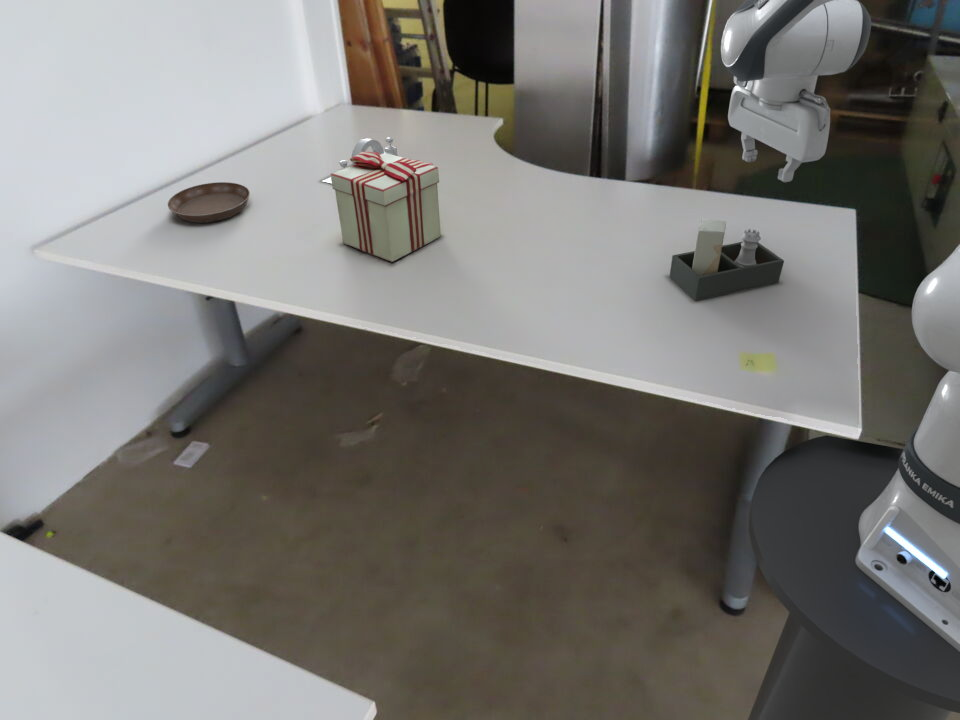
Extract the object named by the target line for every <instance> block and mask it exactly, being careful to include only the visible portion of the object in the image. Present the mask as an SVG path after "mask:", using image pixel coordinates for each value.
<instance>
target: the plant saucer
mask: <svg viewBox="0 0 960 720" xmlns="http://www.w3.org/2000/svg"><path fill="white" fill-rule="evenodd" d="M250 195H251V192H250V190H249V189H248V187H247V186H245V185H242V184H239V183H236V182H229V181H228V182H225V181H222V182H221V181H219V182H207V183H202V184H198V185H193V186H191V187H188V188H185V189H183V190H180V191H178V192H177V193H175V194H174V195H172V196H171V197H170V198H169V200H168V201H167V207H168V209H169V210H170V212H172V213H173V214H174V215H176V216H177V217H179V218H180V219H182V220H184V221H187V222H191V223H197V224H198V223H201V224H202V223H213V222H218V221H223V220H226V219H230V218H231V217H233V216H235V215H237V214H239V213H240V212H241V211H243V209H244V207H245V206H246V205H247V203H248V201H249V199H250Z"/></svg>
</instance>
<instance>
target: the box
mask: <svg viewBox="0 0 960 720" xmlns="http://www.w3.org/2000/svg"><path fill="white" fill-rule="evenodd" d="M726 228H727V221H726V220H721V219H710V218H700V220H699V225H698V230H697V235H696V236H697V237H696V241H695V242H696V243H695V247H694V251H695V254H694V260H693V266H692V270H694V271H695V272H696V273H697V274H698V275H699V276H703V275H708V274H712V273H717V271H718V266H719V261H720V255H721V250H722V246H723V245H724V239H725V234H726V230H727V229H726Z"/></svg>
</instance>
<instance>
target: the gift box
mask: <svg viewBox="0 0 960 720" xmlns="http://www.w3.org/2000/svg"><path fill="white" fill-rule="evenodd" d="M351 157H352V156H351ZM349 160H350V161H349V162H352V161H353V162H354V164H355V165H352V164H351V165H350V166H347V167H345V169H344V168H342V169H340V170H337V171H335V172H332V173H331V174H330V177H331V181H332V184H331V186H332V190H334V193H335V200H336V205H337V212H338V218H339V225H340V231H341V237H342V243H343V244H345V245H347V246H349V247H352V248H355V249H357V250H359V251H361V252H363V253H368V254H369V255H373V256H375V257H378V258H380V259H383V260H386V261H388V262H391V263H393V262H395V261H397V260H400V259H401V258H403V257H405V256H407V255H408V254H410V253H413V252H414V251H416V250H418V249H420V248H422V247H424V246H425V245H428V244H430V243H432V242H433V241H435V240H437V239H439V238H440V237H441V236H442V234H441V232H442V231H441V219H440V206H439V205H440V204H439V190H438V184H439V182H440V174H439V167H438V166H436V165H434V163H433V162H424V161H422V160H417V159H415V160H414V159H410V158H407V157H402V156H398V155H397V156H395V155H391V154H388V153H383V154H381V155H379V153H378V151H377V152H375V153H373V151H365V152H361V153H359V154H358V155H356V156H354V157H352V158H349Z"/></svg>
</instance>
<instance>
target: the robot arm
mask: <svg viewBox="0 0 960 720" xmlns="http://www.w3.org/2000/svg"><path fill="white" fill-rule="evenodd" d="M871 30H872V17H871V15H870V13H869V12H868V10H867V8H866V7H865V5H864V4H863V3H862V2H861V1H860V0H745V1H744V2H743V3H741V5H740V6H738V7H737V8H736V10H735V11H734V12H733V13H732V14H731V15H730V16H729V18H728V19H727V21H726V24H725V26H724V29H723V32H722V37H721V43H720V55H721V60H722V61H721V62H722V64H723V65H724V66H725V68H726V69H727V70H728V71H729V72H730V73H731V75H733V83H734V87H733V88H732V91H731V93H730V94H731V95H730V99H729V105H728V106H729V107H728V113H727V120H728V124H729V126H730V127H731V128H733V129H735V130H737V131H739V132H741V135H740V140H741V145H742V150H743V151H742V156H741V158H742V160H743V161H745V162H747V163H751V162H752V163H753V162H755V161H757V158H758V157H757V156H758V152H759V151H758V150H757V149H756V143H755V141H756V140H757V141H758V142H761V143H763V144H765V145H767V146H769V147H771V148H773V149H774V150H776V151H778V152H780V153H782V154H784V155H786V157H785V162H787V163H786V164H785V166H784V167H781V168H779V169H778V175H777V180H779V181H781V182H783V183H789V182H792V181H793V179H794V176H795V171H796V170H797V169H798V168H799V167H801V164H803V163H809V162H815V161H819V160H820V159H822V158H823V157H824V156H825V153H826V152H827V146H828V142H829V141H828V140H829V134H830V129H831V128H830V127H831V108H830V107H829V104H828V102H827V99H826V97H824V96H822V95H818V94H816V93H815V90H816V86H817V81H818V77H819V76H832V75H837V74H841V73H845V72H847V71H848V70H850V69H851V68H852V67H853V66H855V65H856V64H857V62H858V61H859V60H861V59H860V58H861V57H862V56H863V55H864V53H865V51H866V48H867V46H868V44H869V39H870V36H871V32H872V31H871ZM911 322H912V328H913V332H914V334H915V337H916V339H917V342H918V343H919V345H920V347H921V348H922V349H923V351H924V352H925V354H927V356H928V357H929V358H930V359H931V360H932V361H933V362H935V363H936V364H937V365H938V366H939V367H941V368H944V369H945V370H948V371H947V372H946V373H945V374H944V376H943V377H942V378H941V380H940V381H939V383H938V384H937V387H936V388H935V391H934V393H933V395H932V397H931V399H930V401H929V403H928V406H927V408H926V411H925V413H924V414H923V417H922V420H921V421H920V424H919V425H918V426H917V428H915V429H913V431H912V432H911V433H910V435H909V437H908V439H907V441H906V443H905V445H904V447H903V448H902V449H903V451H902V453H901V456H900V458H899V463H898V465H899V468H898V470H897V472H896V473H895V475H894V476H893V478H892V480H891V481H890V483H889V484H888V485H887V487H886V488H885V489H884V491H883V492H882V493H881V495H880V496H879V497H878V498H877V499H876V500H875V501H874V502H873V503H872V504H871V505H869V506H868V507H867V508H866V509H865V510H864V511H863V513H862V514H861V517H860V519H859V527H858V529H859V536H860V542H861V546H860V548H859V550H858V552H857V555H856V559H855V562H856V565H857V566H858V567H859V568H860V569H861V570H862V571H863V572H864V573H865V574H867V575H868V576H869V577H870V578H871V579H873V580H874V581H875V582H876V583H877V584H879V585H880V586H881V587H882V588H883V589H885V590H886V591H887V592H888V593H889V594H891V595H892V596H893V597H894V598H895V599H897V600H898V601H899V602H900V603H901V604H903V605H904V606H905V607H906V608H907V609H909V610H910V611H911V612H912V613H913V614H915V615H916V616H917V617H918V618H919V619H921V620H922V621H923V622H924V623H926V624H927V625H928V626H929V627H930V628H932V629H933V630H934V631H935V632H936V633H938V634H939V635H940V636H941V637H942V638H944V639H945V640H946V641H947V642H948V643H950V644H951V645H952V646H953V647H954V648H956V649H957V650H958V651H959V652H960V243H959V244H958V245H957V247H956V248H955V249H954V250H953V251H952V252H951V254H949V256H948V257H947V258H946V259H945V260H943V262H942V263H940V264H939V265H938V266H937V267H936V268H935V269H934V270H933V271H931V272H930V273H929V274H928V275H926V276H925V277H924V279H923V280H922V281H921V282H920V284H919V286H918V287H917V288H916V291H915V294H914V296H913V300H912V305H911ZM875 568H876V569H878V570H880V571H878V570H876V569H875Z"/></svg>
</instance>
